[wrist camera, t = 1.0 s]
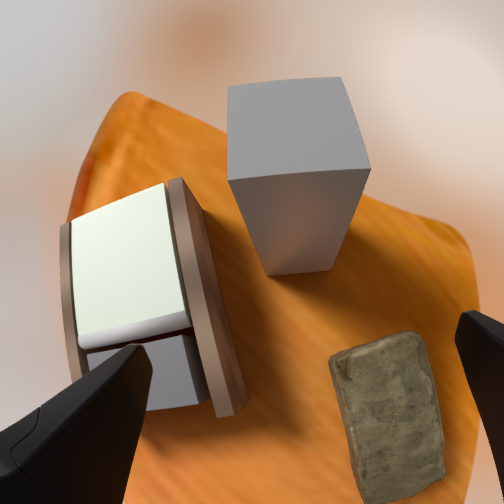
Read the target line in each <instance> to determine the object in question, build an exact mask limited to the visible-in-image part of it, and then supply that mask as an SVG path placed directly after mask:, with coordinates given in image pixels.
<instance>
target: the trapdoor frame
mask: <svg viewBox="0 0 504 504" xmlns="http://www.w3.org/2000/svg"><path fill="white" fill-rule="evenodd" d="M168 189H169V196H170V203H171V209H172V216H173V222H174V228H175V234H176V240H177V246H178V252H179V257H180V263H181V268H182V273H183V278H184V284H185V289H186V294H187V298H188V303H189V308H190V313H191V317H192V322H193V326H194V331H195V335H196V339H197V344H198V348H199V352H200V356H201V360H202V364H203V368H204V372H205V376H206V380H207V384H208V388H209V391H210V395H211V399H212V402H213V406H214V410H215V413H216V417H217V418H221V417H227V416H232V415H235V414H236V413H237V412H238V411H239V410H240V409H241V408H242V407H243V406H244V404H245V403H246V402H247V401H248V400H249V399H248V395H247V392H246V388H245V385H244V381H243V377H242V373H241V370H240V366H239V362H238V358H237V354H236V351H235V347H234V343H233V339H232V335H231V331H230V327H229V323H228V319H227V315H226V311H225V307H224V303H223V299H222V294H221V290H220V286H219V282H218V277H217V273H216V269H215V264H214V260H213V256H212V251H211V247H210V242H209V238H208V233H207V229H206V224H205V219H204V215H203V210H202V207H201V206H200V204H199V203H198V201H197V200H196V198H195V197H194V195H193V194H192V192H191V191H190V189H189V188H188V186H187V185H186V183H185V181H184V180H183V178H182V177H178V178H175V179H172V180H170V181H168ZM60 285H61V301H62V313H63V323H64V332H65V340H66V347H67V353H68V360H69V366H70V371H71V377H72V382H73V383H74V382H75V381H77V380H78V379H80V378H81V377H82V376H84V375H85V374H87V373H88V372H90V370H89V365H88V359H87V354H92V353H98V352H103V351H109V350H114V349H116V348H115V344H113V345H108V346H103V347H98V348H92V349H87V350H84V349H82V348H81V347H80V345H79V342H78V329H77V321H76V312H75V302H74V289H73V273H72V223H70V222H67V223H65V224H63V225H61V226H60Z"/></svg>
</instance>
